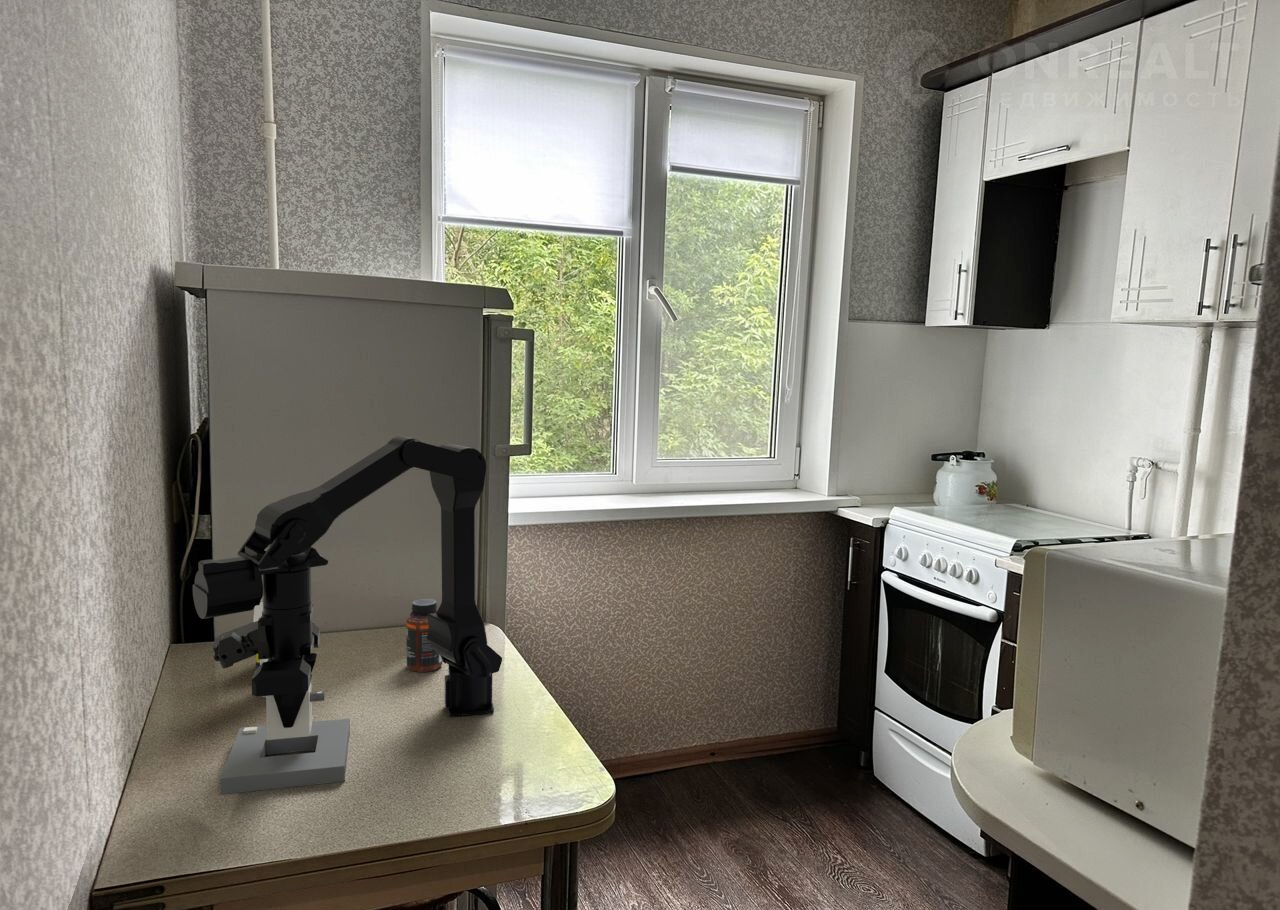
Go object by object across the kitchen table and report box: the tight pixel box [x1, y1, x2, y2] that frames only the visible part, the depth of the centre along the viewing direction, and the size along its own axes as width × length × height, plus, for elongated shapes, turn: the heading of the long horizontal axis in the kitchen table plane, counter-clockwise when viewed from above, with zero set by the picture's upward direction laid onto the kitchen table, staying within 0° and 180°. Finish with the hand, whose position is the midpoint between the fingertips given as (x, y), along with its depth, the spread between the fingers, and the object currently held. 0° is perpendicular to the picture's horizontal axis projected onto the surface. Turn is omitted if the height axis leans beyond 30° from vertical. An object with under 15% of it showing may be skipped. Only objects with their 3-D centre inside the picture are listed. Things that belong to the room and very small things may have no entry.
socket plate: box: [219, 718, 351, 795], centre depth 110 cm, size 14×14×2 cm
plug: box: [265, 682, 326, 740], centre depth 109 cm, size 7×4×6 cm, turn 106°
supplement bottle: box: [405, 598, 443, 673], centre depth 143 cm, size 6×6×11 cm
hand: (290, 720), depth 109 cm, fingers closed on plug, 3 cm apart
